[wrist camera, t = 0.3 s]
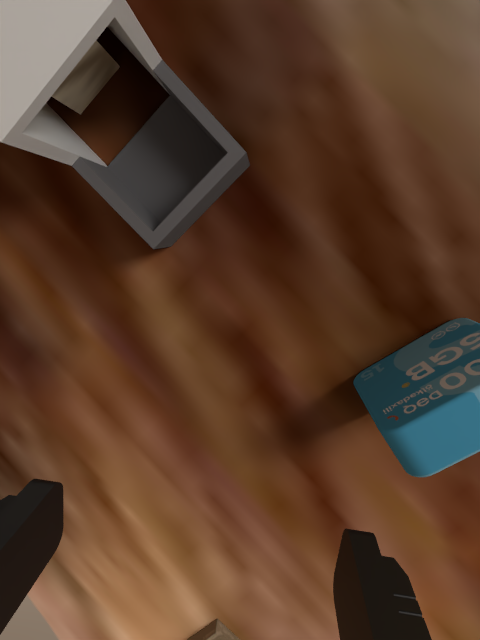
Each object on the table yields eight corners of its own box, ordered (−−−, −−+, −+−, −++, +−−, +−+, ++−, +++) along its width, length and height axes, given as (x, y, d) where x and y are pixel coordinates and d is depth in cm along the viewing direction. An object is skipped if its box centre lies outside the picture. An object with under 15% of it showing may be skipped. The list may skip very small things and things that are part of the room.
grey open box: (179, 88, 35) (161, 59, 29) (249, 165, 36) (246, 152, 30) (102, 176, 37) (71, 165, 31) (170, 246, 38) (153, 249, 32)
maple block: (17, -44, 34) (-99, -173, 23) (120, 66, 35) (55, -6, 24) (-20, 9, 35) (-149, -90, 24) (80, 114, 36) (1, 65, 25)
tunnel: (88, -12, 34) (-41, -188, 20) (179, 88, 35) (120, -9, 21) (13, 84, 36) (-152, -11, 22) (102, 176, 37) (0, 142, 23)
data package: (459, 313, 38) (546, 350, 26) (481, 352, 38) (576, 405, 27) (349, 377, 40) (383, 437, 28) (371, 412, 40) (414, 486, 29)
